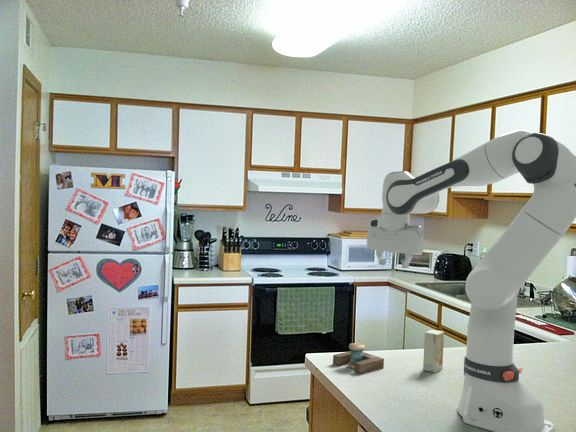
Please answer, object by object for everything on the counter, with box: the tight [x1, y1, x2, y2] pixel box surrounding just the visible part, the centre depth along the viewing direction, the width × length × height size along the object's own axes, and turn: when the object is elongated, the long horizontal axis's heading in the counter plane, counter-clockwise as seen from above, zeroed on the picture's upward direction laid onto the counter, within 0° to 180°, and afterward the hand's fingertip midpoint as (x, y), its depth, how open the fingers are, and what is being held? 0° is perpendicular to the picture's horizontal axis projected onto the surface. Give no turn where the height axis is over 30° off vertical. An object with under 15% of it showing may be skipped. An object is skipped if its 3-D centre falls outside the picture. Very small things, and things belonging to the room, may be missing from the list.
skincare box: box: [422, 329, 445, 373], centre depth 170 cm, size 6×4×12 cm
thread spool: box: [347, 342, 366, 370], centre depth 170 cm, size 5×5×7 cm
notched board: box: [332, 350, 385, 375], centre depth 171 cm, size 12×11×3 cm
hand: (393, 266), depth 168 cm, fingers open, 8 cm apart
